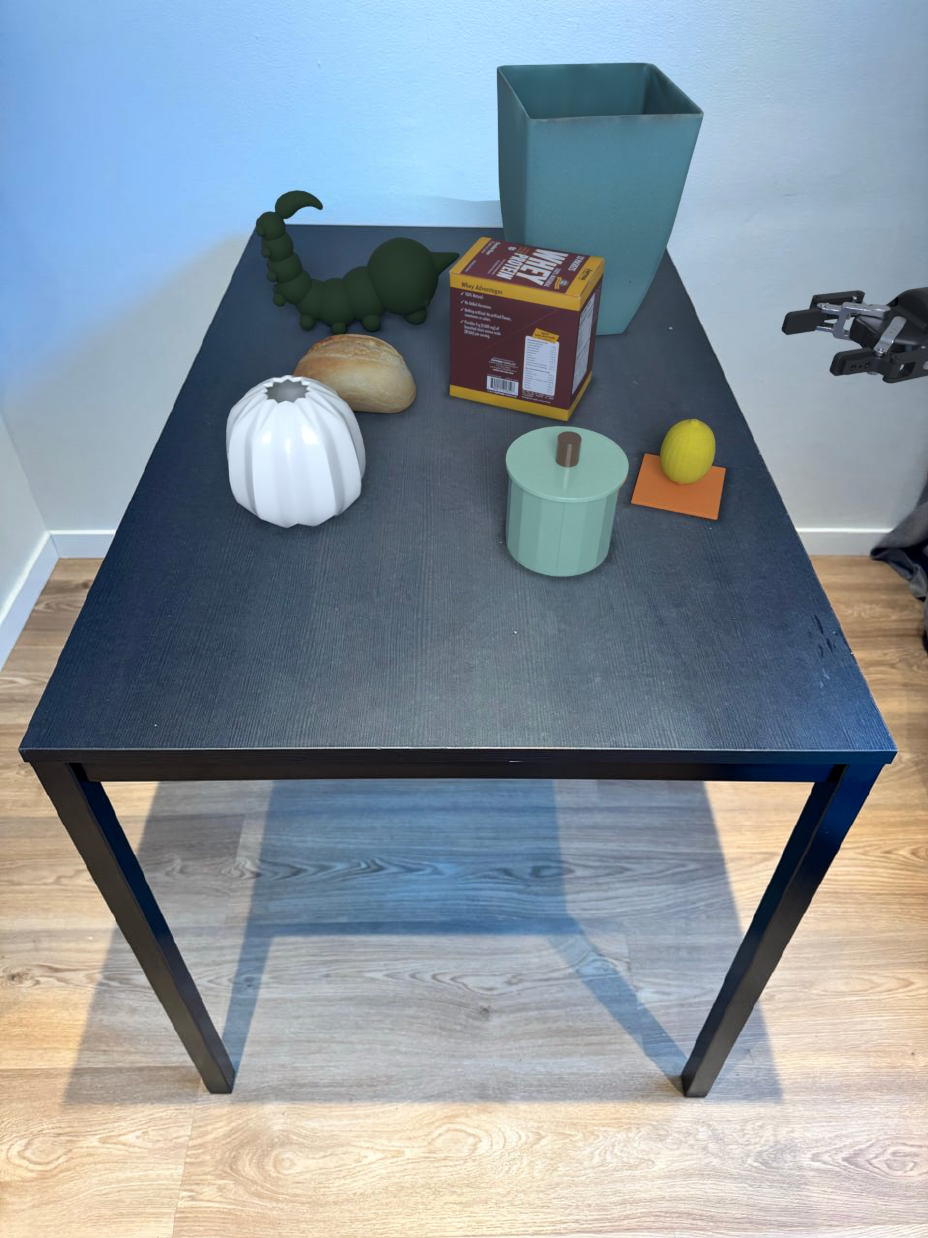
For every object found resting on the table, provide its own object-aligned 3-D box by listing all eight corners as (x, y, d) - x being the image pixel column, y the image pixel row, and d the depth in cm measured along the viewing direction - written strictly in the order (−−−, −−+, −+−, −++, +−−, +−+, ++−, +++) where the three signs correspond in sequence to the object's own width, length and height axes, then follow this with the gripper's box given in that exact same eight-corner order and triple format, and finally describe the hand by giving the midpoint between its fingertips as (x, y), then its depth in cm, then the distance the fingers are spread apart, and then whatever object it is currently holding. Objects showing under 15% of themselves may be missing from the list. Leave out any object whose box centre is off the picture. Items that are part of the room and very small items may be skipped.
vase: (294, 563, 86) (275, 448, 76) (209, 501, 92) (182, 388, 82) (396, 500, 93) (390, 387, 83) (310, 447, 99) (296, 337, 90)
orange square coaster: (725, 471, 97) (725, 468, 97) (716, 520, 91) (717, 517, 91) (644, 456, 99) (644, 453, 99) (630, 503, 93) (631, 500, 93)
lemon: (685, 463, 97) (700, 400, 92) (716, 491, 94) (734, 427, 88) (644, 476, 96) (656, 412, 90) (674, 504, 92) (689, 440, 86)
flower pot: (662, 348, 116) (707, 110, 96) (513, 358, 114) (528, 117, 93) (620, 281, 130) (652, 60, 109) (487, 288, 127) (495, 65, 107)
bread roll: (295, 383, 109) (287, 323, 103) (416, 382, 109) (414, 322, 103) (288, 427, 102) (278, 365, 96) (416, 426, 102) (415, 364, 97)
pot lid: (636, 447, 85) (642, 415, 82) (615, 519, 77) (620, 486, 75) (522, 426, 87) (524, 394, 84) (490, 494, 79) (492, 461, 77)
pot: (617, 520, 91) (631, 444, 84) (598, 586, 84) (611, 509, 77) (520, 501, 93) (526, 425, 86) (493, 563, 86) (497, 486, 79)
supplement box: (476, 356, 114) (480, 234, 103) (591, 380, 110) (607, 256, 99) (446, 395, 107) (446, 270, 96) (567, 422, 103) (582, 295, 92)
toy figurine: (284, 358, 116) (470, 330, 117) (248, 212, 102) (458, 182, 104) (283, 324, 122) (459, 298, 124) (248, 182, 109) (447, 155, 110)
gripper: (913, 258, 92) (779, 276, 89) (1011, 319, 83) (865, 342, 79) (888, 325, 98) (760, 345, 94) (977, 389, 88) (838, 414, 84)
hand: (808, 343), depth 87 cm, fingers open, 8 cm apart
